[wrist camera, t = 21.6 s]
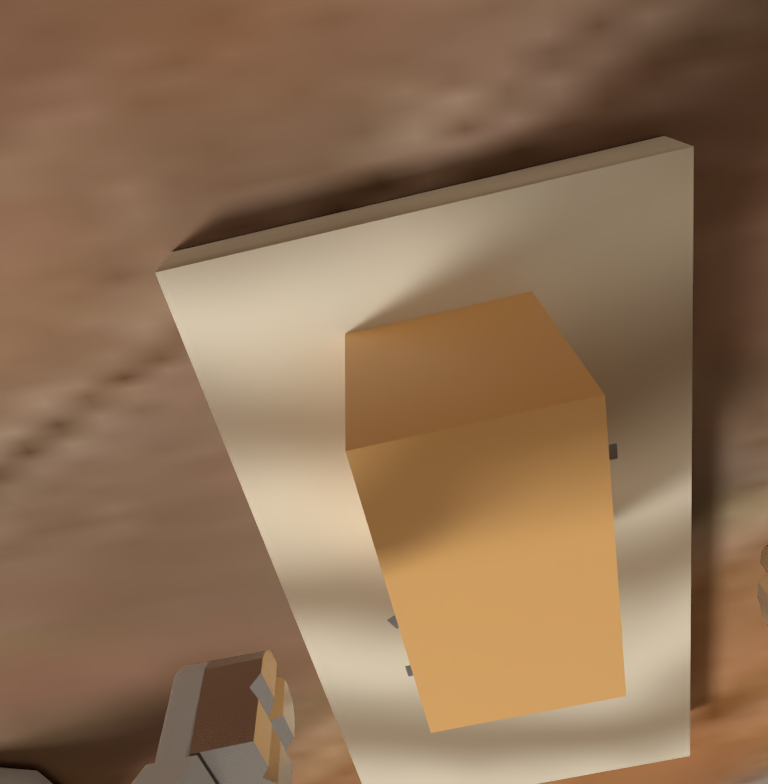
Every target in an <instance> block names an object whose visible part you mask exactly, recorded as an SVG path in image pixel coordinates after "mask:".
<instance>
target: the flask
mask: <svg viewBox="0 0 768 784" xmlns="http://www.w3.org/2000/svg"><path fill="white" fill-rule="evenodd" d="M0 784H53V783H51V782H50V781H49V780H48V779H47V778H45V777H44V776H43V775H42V774H40V773H39V772H38V771H35V770H23V769H11V768H0Z"/></svg>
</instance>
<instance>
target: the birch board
mask: <svg viewBox="0 0 768 784" xmlns="http://www.w3.org/2000/svg"><path fill="white" fill-rule="evenodd" d="M693 200H694V146H692V145H689V144H686V143H683V142H680V141H678V140H675V139H672V138H669V137H666V136H662V137H657V138H653V139H649V140H645V141H640V142H636V143H632V144H628V145H623V146H619V147H615V148H611V149H607V150H602V151H598V152H594V153H590V154H585V155H581V156H577V157H573V158H568V159H564V160H560V161H556V162H551V163H547V164H543V165H539V166H534V167H530V168H526V169H522V170H518V171H513V172H509V173H505V174H501V175H496V176H492V177H488V178H484V179H479V180H475V181H471V182H467V183H462V184H458V185H454V186H450V187H446V188H441V189H437V190H433V191H429V192H424V193H420V194H416V195H412V196H407V197H403V198H399V199H395V200H390V201H386V202H382V203H378V204H373V205H369V206H365V207H361V208H357V209H352V210H348V211H344V212H340V213H335V214H331V215H327V216H323V217H318V218H314V219H310V220H306V221H301V222H297V223H293V224H289V225H285V226H280V227H276V228H272V229H268V230H263V231H259V232H255V233H251V234H246V235H242V236H238V237H234V238H229V239H225V240H221V241H217V242H213V243H208V244H204V245H200V246H196V247H191V248H187V249H183V250H179V251H174V252H170V253H169V255H168V256H167V257H166V259H165V260H164V261H163V263H162V264H161V265H160V267H159V268H158V269H157V271H156V272H155V274H156V276H157V279H158V281H159V284H160V286H161V288H162V291H163V293H164V296H165V298H166V301H167V303H168V306H169V308H170V311H171V313H172V316H173V318H174V321H175V323H176V325H177V328H178V330H179V333H180V335H181V338H182V340H183V343H184V345H185V348H186V350H187V353H188V355H189V358H190V360H191V363H192V365H193V367H194V370H195V372H196V375H197V377H198V380H199V382H200V385H201V387H202V390H203V392H204V395H205V397H206V400H207V402H208V405H209V407H210V409H211V412H212V414H213V417H214V419H215V422H216V424H217V427H218V429H219V432H220V434H221V437H222V439H223V442H224V444H225V446H226V449H227V451H228V454H229V456H230V459H231V461H232V464H233V466H234V469H235V471H236V474H237V476H238V479H239V481H240V484H241V486H242V488H243V491H244V493H245V496H246V498H247V501H248V503H249V506H250V508H251V511H252V513H253V516H254V518H255V521H256V523H257V526H258V528H259V530H260V533H261V535H262V538H263V540H264V543H265V545H266V548H267V550H268V553H269V555H270V558H271V560H272V563H273V565H274V567H275V570H276V572H277V575H278V577H279V580H280V582H281V585H282V587H283V590H284V592H285V595H286V597H287V600H288V602H289V605H290V607H291V609H292V612H293V614H294V617H295V619H296V622H297V624H298V627H299V629H300V632H301V634H302V637H303V639H304V642H305V644H306V647H307V649H308V651H309V654H310V656H311V659H312V661H313V664H314V666H315V669H316V671H317V674H318V676H319V679H320V681H321V684H322V686H323V688H324V691H325V693H326V696H327V698H328V701H329V703H330V706H331V708H332V711H333V713H334V716H335V718H336V721H337V723H338V726H339V728H340V730H341V733H342V735H343V738H344V740H345V743H346V745H347V748H348V750H349V753H350V755H351V758H352V760H353V763H354V765H355V767H356V770H357V772H358V775H359V777H360V780H361V782H362V784H538V783H543V782H549V781H554V780H560V779H565V778H571V777H576V776H582V775H587V774H593V773H598V772H604V771H609V770H615V769H620V768H626V767H631V766H637V765H642V764H648V763H653V762H659V761H664V760H670V759H675V758H681V757H686V756H690V657H691V505H692V352H693ZM531 291H532V292H533V293H534V295H535V296H536V298H537V299H538V301H539V302H540V303H541V305H542V306H543V308H544V309H545V310H546V312H547V313H548V315H549V316H550V318H551V319H552V320H553V322H554V323H555V325H556V326H557V328H558V329H559V330H560V332H561V333H562V335H563V336H564V337H565V339H566V340H567V342H568V343H569V345H570V346H571V347H572V349H573V350H574V352H575V353H576V354H577V356H578V357H579V359H580V360H581V362H582V363H583V364H584V366H585V367H586V369H587V370H588V371H589V373H590V374H591V376H592V377H593V379H594V380H595V381H596V383H597V384H598V386H599V387H600V389H601V390H602V391H603V393H604V394H605V403H606V417H607V431H608V445H609V459H610V473H611V487H612V501H613V516H614V530H615V544H616V558H617V572H618V586H619V600H620V614H621V629H622V643H623V657H624V671H625V685H626V696H623V697H618V698H613V699H608V700H602V701H597V702H592V703H587V704H581V705H576V706H571V707H566V708H560V709H555V710H550V711H544V712H539V713H534V714H529V715H523V716H518V717H513V718H508V719H502V720H497V721H492V722H486V723H481V724H476V725H471V726H465V727H460V728H455V729H450V730H444V731H439V732H434V733H431V732H430V729H429V725H428V722H427V719H426V715H425V712H424V709H423V706H422V702H421V699H420V696H419V692H418V689H417V686H416V682H415V679H414V676H413V673H412V669H411V666H410V663H409V659H408V656H407V653H406V649H405V646H404V643H403V640H402V636H401V633H400V630H399V626H398V623H397V620H396V616H395V613H394V610H393V607H392V603H391V600H390V597H389V593H388V590H387V587H386V584H385V580H384V577H383V574H382V570H381V567H380V564H379V560H378V557H377V554H376V551H375V547H374V544H373V541H372V537H371V534H370V531H369V527H368V524H367V521H366V518H365V514H364V511H363V508H362V504H361V501H360V498H359V494H358V491H357V488H356V485H355V481H354V478H353V475H352V471H351V468H350V465H349V461H348V458H347V455H346V452H345V334H347V333H351V332H355V331H360V330H364V329H369V328H373V327H377V326H382V325H386V324H390V323H395V322H399V321H404V320H408V319H412V318H417V317H421V316H426V315H430V314H434V313H439V312H443V311H448V310H452V309H456V308H461V307H465V306H470V305H474V304H478V303H483V302H487V301H492V300H496V299H500V298H505V297H509V296H514V295H518V294H522V293H527V292H531Z"/></svg>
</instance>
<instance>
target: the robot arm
mask: <svg viewBox="0 0 768 784" xmlns="http://www.w3.org/2000/svg"><path fill="white" fill-rule="evenodd" d="M760 563H761V565H762V566H763V567H764V569H765V570H766V571H767V573H766V574H765V575H764V577H763V578H762V579H761V580H760V581H759V582H758V600H759V604H760V608H761V611H762V615H763V617H764V619H765V621H766V623H767V625H768V545H766V546H765V547H764V549H763V550H762V551H761V560H760ZM276 669H277V662H276V660H275V658H274V657H273V655H272V653H271V651H262V652H257V653H251V654H246V655H240V656H235V657H229V658H223V659H218V660H212V661H208V662H203V663H197V664H192V665H187V666H182V667H180V669H179V670H178V672H177V674H176V675H175V677H174V682H173V686H172V690H171V694H170V699H169V703H168V707H167V711H166V716H165V720H164V724H163V729H162V733H161V737H160V741H159V746H158V750H157V754H156V758H155V763H152V764H148V765H145V767H144V768H143V769H142V770H141V772H140V773H139V774H138V775H137V777H136V778H135V779H134V780H133V782H132V783H131V784H292V769H293V764H292V762H291V760H290V758H289V756H288V754H287V752H286V749H287V748H288V746H289V745H290V743H291V742H292V740H293V739H294V726H295V718H294V709H293V701H292V697H291V693H290V690H289V687H288V685H287V683H286V681H285V679H283V678H281V677H279V676H277V675H276Z"/></svg>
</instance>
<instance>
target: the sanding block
mask: <svg viewBox="0 0 768 784" xmlns="http://www.w3.org/2000/svg"><path fill="white" fill-rule="evenodd" d="M345 452H346V455H347V458H348V461H349V465H350V468H351V471H352V475H353V478H354V481H355V485H356V488H357V491H358V494H359V498H360V501H361V504H362V508H363V511H364V514H365V518H366V521H367V524H368V527H369V531H370V534H371V537H372V541H373V544H374V547H375V551H376V554H377V557H378V560H379V564H380V567H381V570H382V574H383V577H384V580H385V584H386V587H387V590H388V593H389V597H390V600H391V603H392V607H393V610H394V613H395V616H396V620H397V623H398V626H399V630H400V633H401V636H402V640H403V643H404V646H405V649H406V653H407V656H408V659H409V663H410V666H411V669H412V673H413V676H414V679H415V682H416V686H417V689H418V692H419V696H420V699H421V702H422V706H423V709H424V712H425V715H426V719H427V722H428V725H429V729H430V732H431V733H434V732H439V731H444V730H450V729H455V728H460V727H465V726H471V725H476V724H481V723H486V722H492V721H497V720H502V719H508V718H513V717H518V716H523V715H529V714H534V713H539V712H544V711H550V710H555V709H560V708H566V707H571V706H576V705H581V704H587V703H592V702H597V701H602V700H608V699H613V698H618V697H623V696H626V685H625V671H624V657H623V643H622V629H621V614H620V600H619V586H618V572H617V558H616V544H615V530H614V516H613V501H612V487H611V473H610V459H609V445H608V431H607V417H606V403H605V394H604V393H603V391H602V390H601V389H600V387H599V386H598V384H597V383H596V381H595V380H594V379H593V377H592V376H591V374H590V373H589V371H588V370H587V369H586V367H585V366H584V364H583V363H582V362H581V360H580V359H579V357H578V356H577V354H576V353H575V352H574V350H573V349H572V347H571V346H570V345H569V343H568V342H567V340H566V339H565V337H564V336H563V335H562V333H561V332H560V330H559V329H558V328H557V326H556V325H555V323H554V322H553V320H552V319H551V318H550V316H549V315H548V313H547V312H546V310H545V309H544V308H543V306H542V305H541V303H540V302H539V301H538V299H537V298H536V296H535V295H534V293H533V292H532V291H531V292H527V293H522V294H518V295H514V296H509V297H505V298H500V299H496V300H492V301H487V302H483V303H478V304H474V305H470V306H465V307H461V308H456V309H452V310H448V311H443V312H439V313H434V314H430V315H426V316H421V317H417V318H412V319H408V320H404V321H399V322H395V323H390V324H386V325H382V326H377V327H373V328H369V329H364V330H360V331H355V332H351V333H347V334H345Z"/></svg>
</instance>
